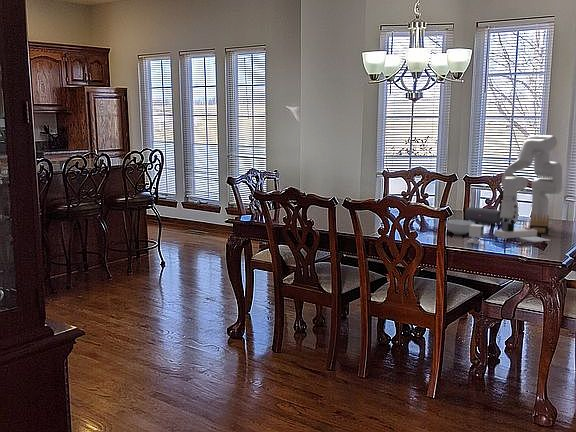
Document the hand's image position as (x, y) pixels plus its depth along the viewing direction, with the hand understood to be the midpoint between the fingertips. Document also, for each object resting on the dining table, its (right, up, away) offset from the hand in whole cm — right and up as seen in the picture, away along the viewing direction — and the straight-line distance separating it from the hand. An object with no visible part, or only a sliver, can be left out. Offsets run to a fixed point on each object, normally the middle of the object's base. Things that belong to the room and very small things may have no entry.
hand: (507, 229), depth 347 cm
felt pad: (+12, -6, -9) cm, 16 cm away
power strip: (+6, -4, +3) cm, 7 cm away
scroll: (+21, +5, +62) cm, 66 cm away
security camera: (-25, -7, -18) cm, 32 cm away
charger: (0, -2, 0) cm, 2 cm away
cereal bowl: (-25, -3, +10) cm, 27 cm away
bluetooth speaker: (+1, +3, +48) cm, 48 cm away
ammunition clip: (+22, -3, +10) cm, 24 cm away
